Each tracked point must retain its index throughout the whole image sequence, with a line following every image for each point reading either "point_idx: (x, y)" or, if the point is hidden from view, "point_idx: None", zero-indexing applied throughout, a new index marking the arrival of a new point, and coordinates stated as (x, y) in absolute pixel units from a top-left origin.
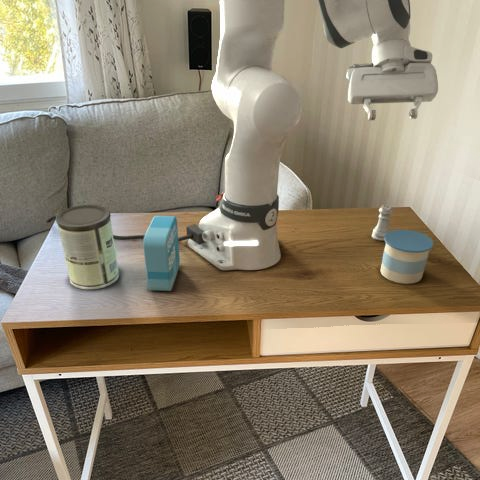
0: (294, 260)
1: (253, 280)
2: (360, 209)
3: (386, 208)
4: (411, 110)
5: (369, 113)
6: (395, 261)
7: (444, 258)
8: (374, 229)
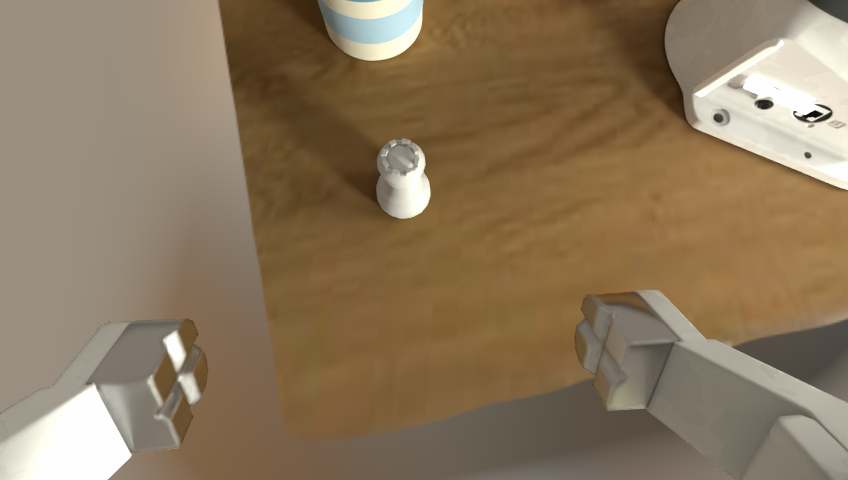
0: (628, 42)
1: None
2: (451, 407)
3: (400, 155)
4: (155, 358)
5: (677, 310)
6: None
7: (247, 101)
8: (425, 186)
